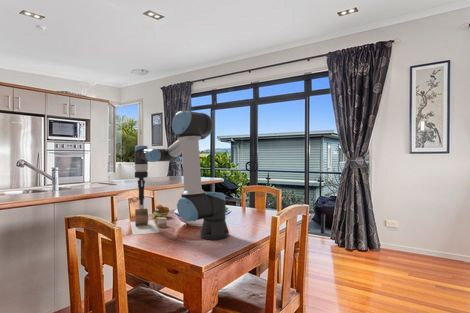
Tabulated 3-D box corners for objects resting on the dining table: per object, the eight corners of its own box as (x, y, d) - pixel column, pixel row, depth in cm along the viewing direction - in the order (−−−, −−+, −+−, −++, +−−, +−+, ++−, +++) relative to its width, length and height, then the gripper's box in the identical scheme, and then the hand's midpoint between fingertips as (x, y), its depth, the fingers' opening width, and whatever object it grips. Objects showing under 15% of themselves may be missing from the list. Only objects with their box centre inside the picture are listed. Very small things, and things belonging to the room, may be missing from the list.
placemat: (159, 232, 164) (159, 232, 164) (132, 235, 159) (132, 234, 159) (153, 220, 194) (153, 220, 194) (130, 222, 188) (130, 222, 188)
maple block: (166, 226, 177) (167, 218, 177) (158, 227, 174) (158, 219, 174) (163, 225, 181) (163, 216, 181) (155, 225, 178) (155, 217, 179)
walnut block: (147, 225, 180) (148, 217, 176) (135, 226, 178) (135, 218, 174) (146, 216, 186) (147, 208, 181) (134, 217, 183) (135, 209, 179)
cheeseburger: (148, 218, 202) (151, 203, 203) (162, 219, 209) (165, 205, 210) (155, 220, 194) (158, 204, 196) (169, 221, 201) (172, 206, 203)
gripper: (134, 170, 186) (134, 208, 186) (135, 171, 174) (135, 212, 174) (146, 170, 188) (146, 207, 189) (148, 171, 176) (148, 211, 177)
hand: (141, 209), depth 182 cm, fingers closed
